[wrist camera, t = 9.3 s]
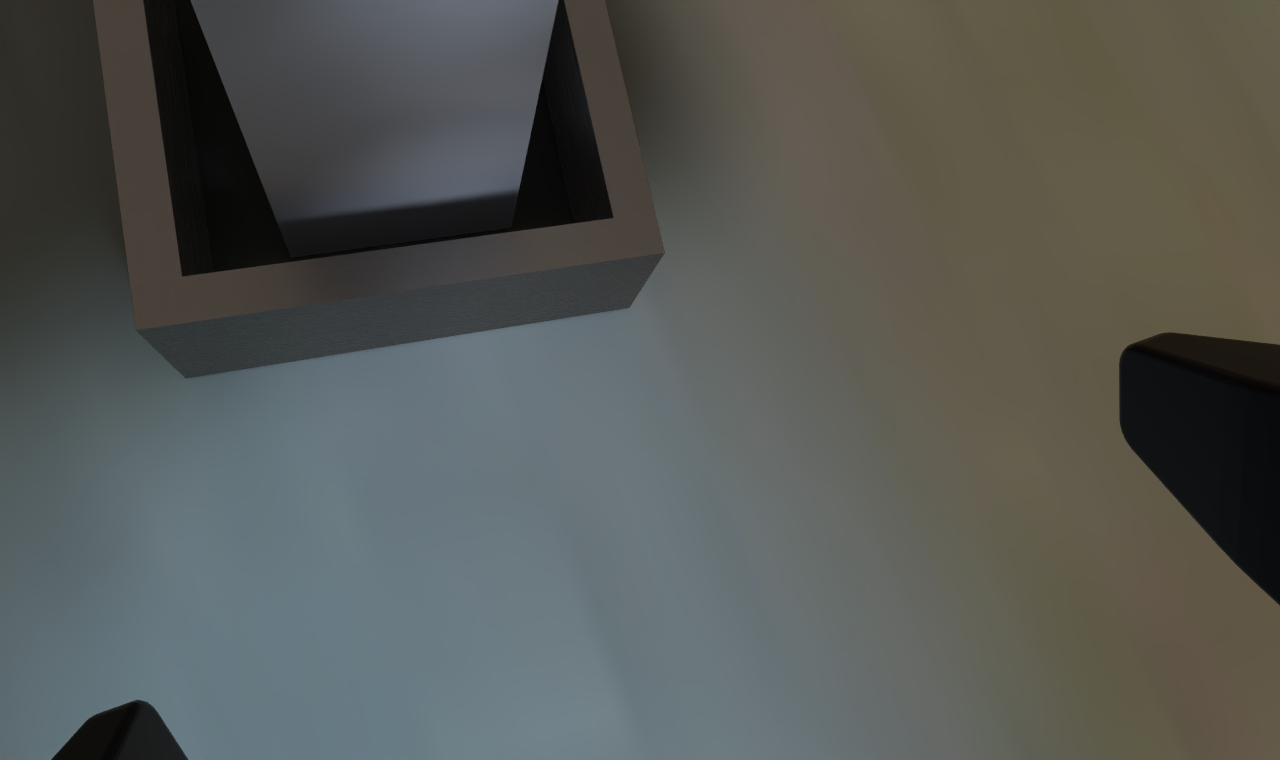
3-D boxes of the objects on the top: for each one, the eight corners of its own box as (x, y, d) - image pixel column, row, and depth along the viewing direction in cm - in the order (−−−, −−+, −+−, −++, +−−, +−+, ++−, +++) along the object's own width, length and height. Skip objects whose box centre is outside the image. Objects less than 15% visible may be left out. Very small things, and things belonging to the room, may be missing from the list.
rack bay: (628, 307, 19) (682, 224, 15) (185, 378, 17) (110, 304, 13) (536, -101, 20) (562, -276, 16) (121, -79, 19) (36, -270, 15)
